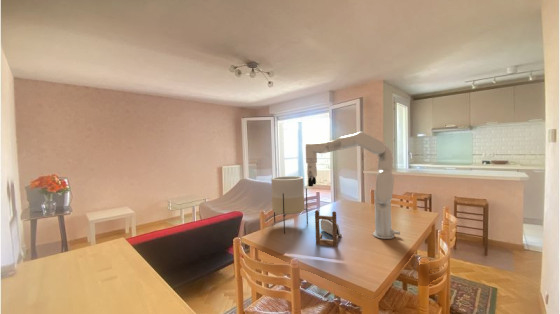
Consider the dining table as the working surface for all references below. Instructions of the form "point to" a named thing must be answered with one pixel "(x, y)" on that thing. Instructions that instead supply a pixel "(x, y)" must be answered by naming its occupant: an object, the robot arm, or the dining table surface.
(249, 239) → the dining table surface
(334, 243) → the brown wooden frame
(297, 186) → the planter
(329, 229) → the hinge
